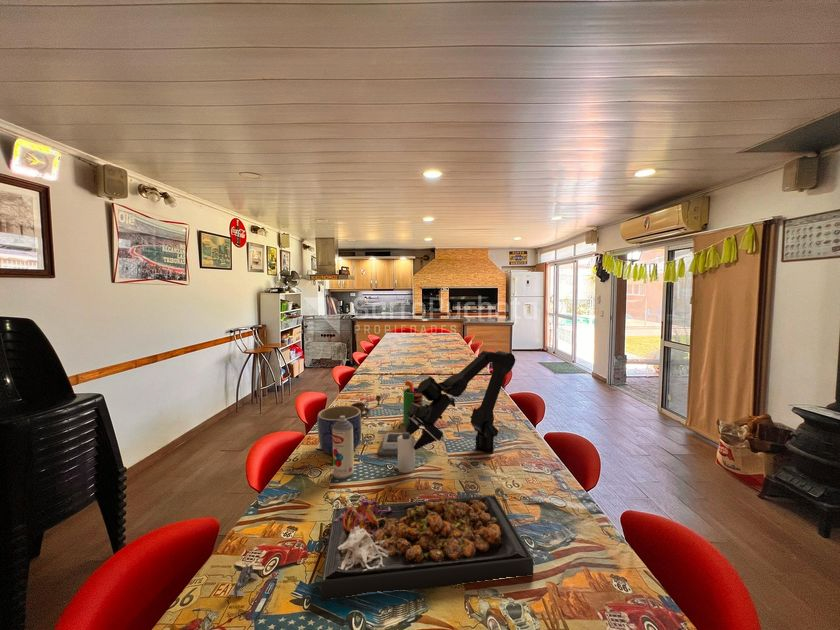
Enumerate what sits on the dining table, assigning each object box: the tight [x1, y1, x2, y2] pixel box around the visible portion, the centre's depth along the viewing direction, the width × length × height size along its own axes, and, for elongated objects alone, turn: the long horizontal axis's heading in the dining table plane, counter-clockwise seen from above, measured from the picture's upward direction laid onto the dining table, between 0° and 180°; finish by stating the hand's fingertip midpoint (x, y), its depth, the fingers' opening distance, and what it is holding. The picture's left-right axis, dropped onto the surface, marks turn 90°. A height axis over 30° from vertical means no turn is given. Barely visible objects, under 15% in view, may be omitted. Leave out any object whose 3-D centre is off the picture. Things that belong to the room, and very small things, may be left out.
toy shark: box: [229, 564, 258, 598], centre depth 79 cm, size 15×7×4 cm, turn 172°
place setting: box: [350, 394, 382, 419], centre depth 183 cm, size 18×20×6 cm
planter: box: [317, 405, 362, 456], centre depth 140 cm, size 16×16×15 cm
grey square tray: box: [378, 432, 403, 457], centre depth 141 cm, size 13×13×4 cm
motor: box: [402, 380, 424, 428], centre depth 166 cm, size 10×9×20 cm
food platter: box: [320, 488, 534, 601], centre depth 87 cm, size 45×25×10 cm, turn 97°
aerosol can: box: [332, 416, 355, 480], centre depth 121 cm, size 7×7×20 cm
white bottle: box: [397, 431, 416, 474], centre depth 124 cm, size 6×6×13 cm
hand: (408, 443), depth 125 cm, fingers open, 9 cm apart
